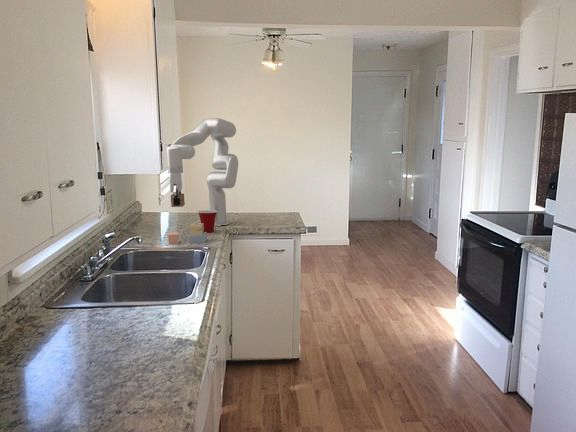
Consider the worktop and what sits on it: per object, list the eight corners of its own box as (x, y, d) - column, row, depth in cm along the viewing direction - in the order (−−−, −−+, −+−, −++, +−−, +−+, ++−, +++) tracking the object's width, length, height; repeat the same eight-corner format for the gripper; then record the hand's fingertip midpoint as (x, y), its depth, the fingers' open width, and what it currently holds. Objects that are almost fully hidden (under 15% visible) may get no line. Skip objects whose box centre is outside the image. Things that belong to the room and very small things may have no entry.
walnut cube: (173, 204, 266) (172, 193, 264) (184, 204, 266) (183, 193, 265) (171, 207, 260) (170, 195, 259) (183, 206, 260) (182, 195, 259)
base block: (191, 240, 260) (191, 232, 260) (207, 239, 261) (206, 232, 260) (189, 243, 252) (189, 236, 252) (205, 243, 253) (205, 235, 252)
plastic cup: (221, 230, 283) (220, 209, 280) (213, 234, 272) (212, 212, 270) (203, 229, 286) (202, 208, 283) (195, 233, 275) (194, 211, 273)
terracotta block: (168, 242, 255) (167, 232, 254) (178, 241, 257) (177, 232, 256) (168, 244, 251) (168, 234, 250) (179, 243, 252) (178, 234, 251)
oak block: (192, 233, 259) (191, 223, 258) (203, 232, 259) (203, 223, 258) (190, 235, 253) (189, 226, 252) (202, 235, 253) (201, 225, 252)
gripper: (171, 168, 267) (173, 201, 271) (165, 172, 250) (167, 207, 254) (185, 168, 268) (187, 201, 271) (180, 171, 251) (182, 207, 254)
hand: (178, 203), depth 263 cm, fingers closed on walnut cube, 6 cm apart
